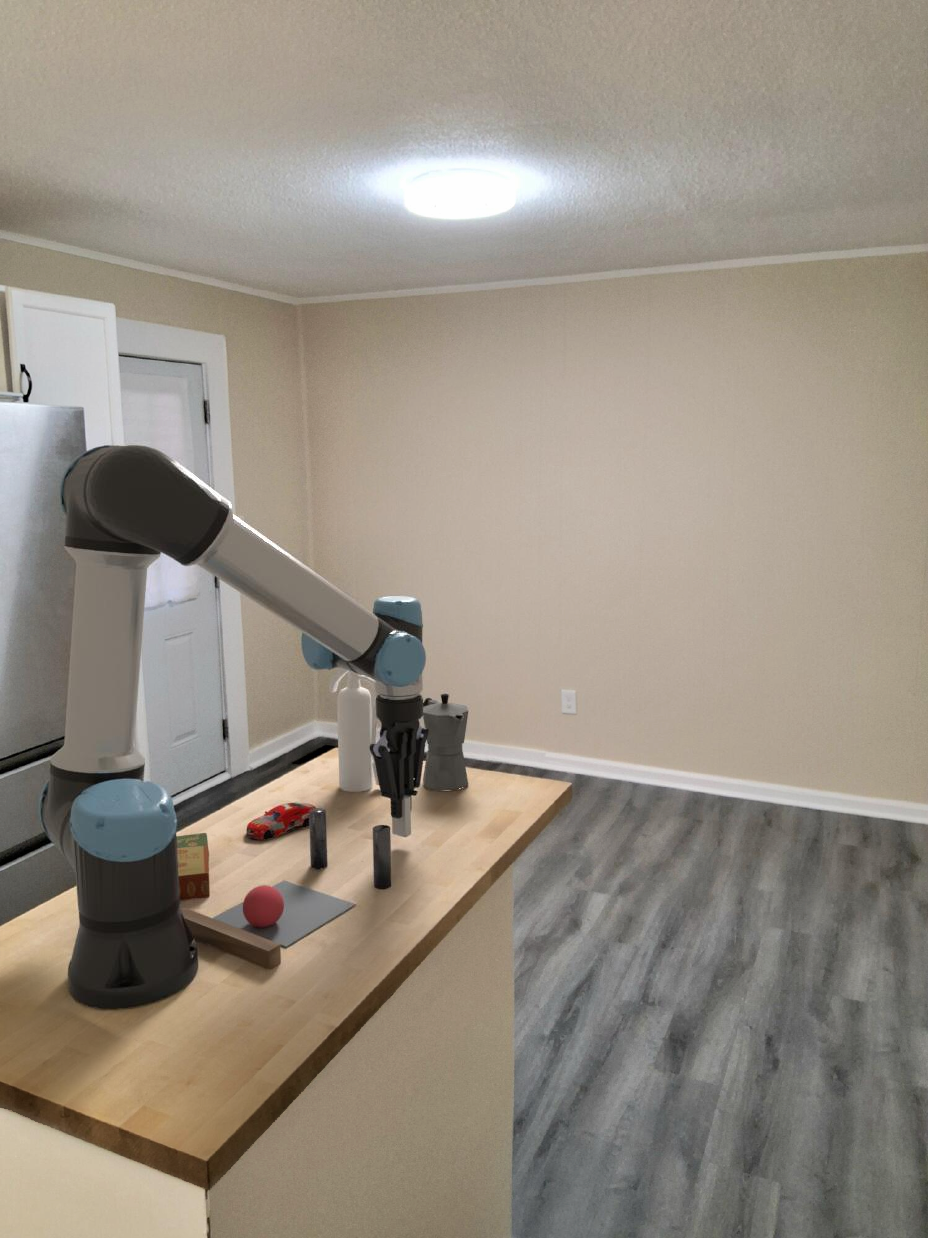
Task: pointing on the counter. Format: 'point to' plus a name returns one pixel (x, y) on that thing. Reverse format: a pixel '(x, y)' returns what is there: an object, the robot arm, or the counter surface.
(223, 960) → the counter surface
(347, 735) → the fire extinguisher
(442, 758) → the coffeepot
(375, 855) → the near post
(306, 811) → the race car
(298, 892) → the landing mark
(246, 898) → the ball
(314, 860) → the far post
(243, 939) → the stopper wall
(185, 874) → the carton
